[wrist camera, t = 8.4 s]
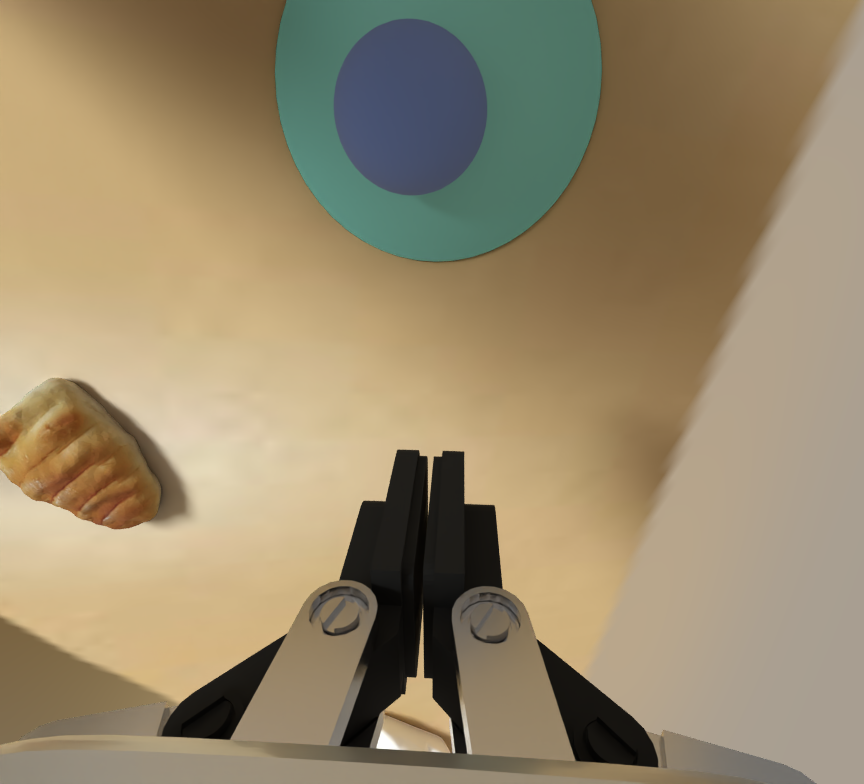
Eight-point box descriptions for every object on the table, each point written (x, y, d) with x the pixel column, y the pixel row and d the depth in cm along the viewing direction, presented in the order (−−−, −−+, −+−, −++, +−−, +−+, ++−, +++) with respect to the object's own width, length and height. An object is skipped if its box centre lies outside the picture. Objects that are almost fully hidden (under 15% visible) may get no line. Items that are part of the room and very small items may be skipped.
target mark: (210, 29, 19) (208, 28, 19) (509, -222, 16) (509, -226, 16) (386, 310, 24) (385, 311, 24) (648, 162, 20) (650, 162, 20)
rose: (435, 760, 33) (463, 835, 37) (438, 695, 37) (463, 769, 41) (295, 769, 34) (336, 841, 38) (313, 706, 38) (348, 776, 42)
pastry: (197, 478, 29) (161, 522, 26) (129, 528, 31) (88, 575, 28) (64, 361, 26) (4, 392, 23) (-1, 424, 28) (-65, 462, 25)
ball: (284, 154, 17) (384, 205, 22) (398, 169, 15) (486, 224, 19) (323, -15, 16) (419, 75, 21) (453, -35, 14) (532, 74, 18)
